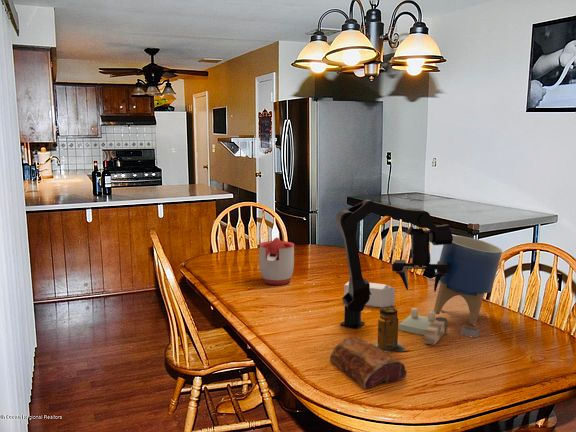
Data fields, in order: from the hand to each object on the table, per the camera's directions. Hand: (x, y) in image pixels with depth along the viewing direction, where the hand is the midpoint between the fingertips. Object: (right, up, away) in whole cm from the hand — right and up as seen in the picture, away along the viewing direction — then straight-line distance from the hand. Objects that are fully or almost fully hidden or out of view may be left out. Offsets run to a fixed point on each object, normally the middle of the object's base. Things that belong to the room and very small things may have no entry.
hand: (421, 290), depth 178 cm
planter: (+14, -9, +7) cm, 18 cm away
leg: (+2, -13, -13) cm, 18 cm away
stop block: (+13, -13, -10) cm, 21 cm away
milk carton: (-23, -4, +25) cm, 35 cm away
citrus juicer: (-51, -4, +50) cm, 72 cm away
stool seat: (-2, -12, -3) cm, 13 cm away
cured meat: (-24, -17, -32) cm, 43 cm away
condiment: (-15, -15, -20) cm, 29 cm away
